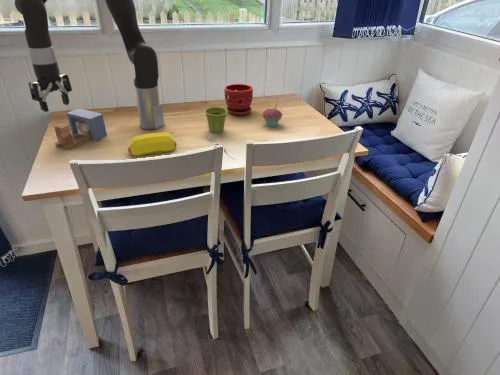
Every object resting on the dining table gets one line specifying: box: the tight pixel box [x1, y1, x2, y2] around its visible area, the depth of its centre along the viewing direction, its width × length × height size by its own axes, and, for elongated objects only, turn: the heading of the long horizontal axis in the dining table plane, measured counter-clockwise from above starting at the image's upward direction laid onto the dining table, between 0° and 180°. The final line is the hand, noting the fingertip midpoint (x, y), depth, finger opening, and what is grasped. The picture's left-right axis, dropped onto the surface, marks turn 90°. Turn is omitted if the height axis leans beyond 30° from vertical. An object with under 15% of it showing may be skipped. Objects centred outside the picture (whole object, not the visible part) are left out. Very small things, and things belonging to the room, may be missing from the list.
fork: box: [206, 134, 227, 152], centre depth 138 cm, size 3×24×2 cm, turn 31°
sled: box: [53, 120, 93, 151], centre depth 139 cm, size 7×15×8 cm, turn 154°
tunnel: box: [66, 108, 108, 142], centre depth 143 cm, size 12×7×9 cm, turn 64°
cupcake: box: [262, 98, 283, 128], centre depth 156 cm, size 9×8×12 cm
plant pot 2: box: [224, 83, 254, 116], centre depth 169 cm, size 13×13×12 cm
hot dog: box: [127, 132, 178, 157], centre depth 134 cm, size 18×7×8 cm
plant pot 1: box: [204, 106, 229, 134], centre depth 150 cm, size 9×9×9 cm
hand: (56, 107), depth 129 cm, fingers open, 8 cm apart
